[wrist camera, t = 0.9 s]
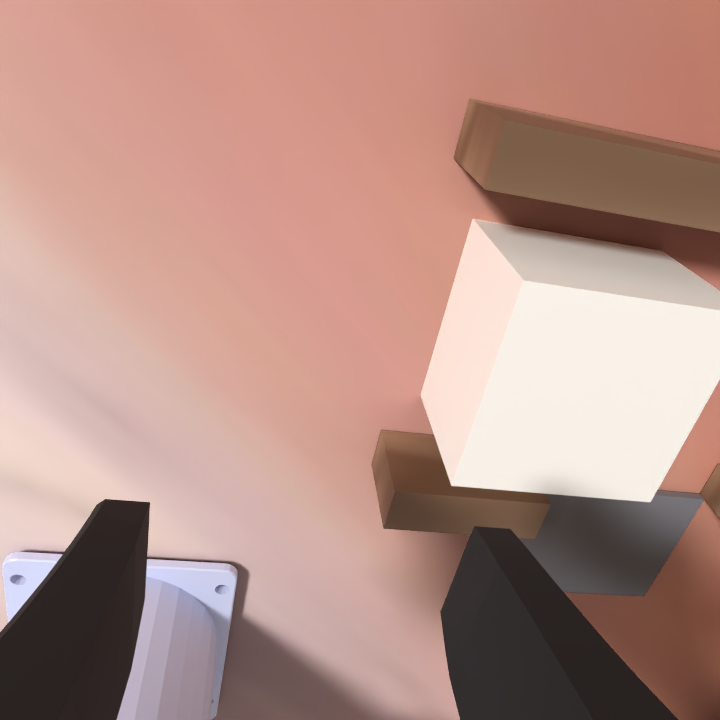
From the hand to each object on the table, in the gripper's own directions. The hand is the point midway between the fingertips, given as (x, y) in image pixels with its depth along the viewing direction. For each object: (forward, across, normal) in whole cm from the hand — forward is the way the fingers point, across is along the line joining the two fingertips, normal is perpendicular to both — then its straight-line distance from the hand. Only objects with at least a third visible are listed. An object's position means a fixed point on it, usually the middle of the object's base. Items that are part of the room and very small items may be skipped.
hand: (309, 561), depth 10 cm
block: (+10, -8, 0) cm, 13 cm away
